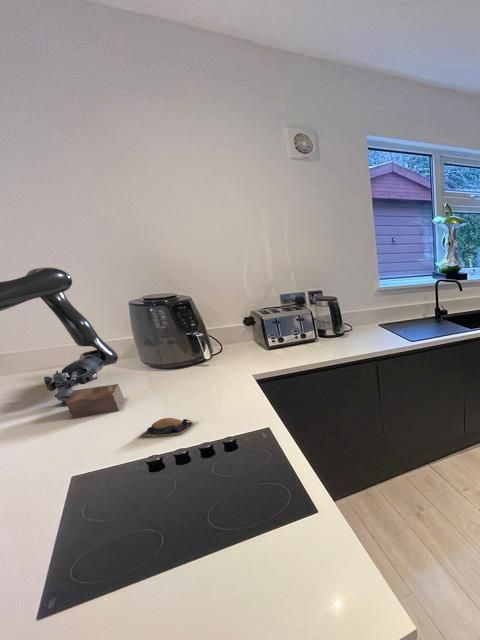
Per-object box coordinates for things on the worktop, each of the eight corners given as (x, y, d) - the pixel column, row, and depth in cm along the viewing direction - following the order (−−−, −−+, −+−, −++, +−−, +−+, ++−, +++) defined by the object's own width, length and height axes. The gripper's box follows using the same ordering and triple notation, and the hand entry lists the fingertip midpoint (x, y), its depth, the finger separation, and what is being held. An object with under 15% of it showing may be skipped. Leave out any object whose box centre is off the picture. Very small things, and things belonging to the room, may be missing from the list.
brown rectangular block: (72, 418, 128) (65, 401, 125) (80, 406, 136) (74, 390, 134) (119, 410, 134) (112, 394, 131) (124, 399, 142) (118, 383, 140)
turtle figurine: (140, 438, 118) (135, 427, 116) (158, 425, 125) (154, 414, 124) (180, 436, 119) (176, 425, 118) (195, 422, 127) (192, 412, 126)
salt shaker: (58, 408, 134) (43, 375, 130) (58, 402, 138) (43, 370, 133) (83, 402, 138) (69, 370, 134) (82, 398, 142) (68, 366, 137)
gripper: (50, 363, 143) (23, 380, 129) (103, 359, 149) (82, 374, 135) (59, 383, 146) (33, 401, 131) (110, 377, 152) (90, 394, 137)
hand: (58, 387), depth 133 cm, fingers closed on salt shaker, 3 cm apart
